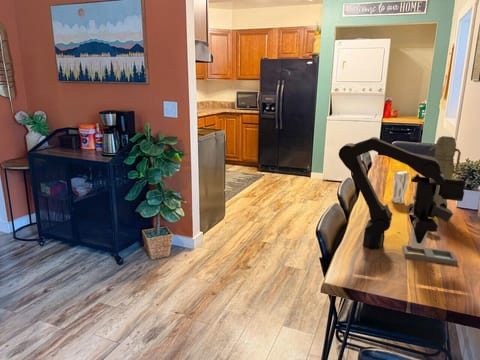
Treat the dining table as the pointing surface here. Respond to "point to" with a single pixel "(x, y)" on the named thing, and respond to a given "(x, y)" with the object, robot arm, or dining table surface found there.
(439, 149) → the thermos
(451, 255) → the socket panel
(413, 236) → the plug
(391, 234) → the dining table surface
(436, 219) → the lemon
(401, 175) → the grey marbled block
